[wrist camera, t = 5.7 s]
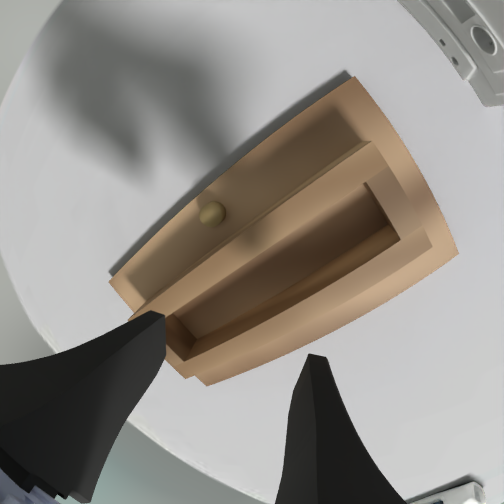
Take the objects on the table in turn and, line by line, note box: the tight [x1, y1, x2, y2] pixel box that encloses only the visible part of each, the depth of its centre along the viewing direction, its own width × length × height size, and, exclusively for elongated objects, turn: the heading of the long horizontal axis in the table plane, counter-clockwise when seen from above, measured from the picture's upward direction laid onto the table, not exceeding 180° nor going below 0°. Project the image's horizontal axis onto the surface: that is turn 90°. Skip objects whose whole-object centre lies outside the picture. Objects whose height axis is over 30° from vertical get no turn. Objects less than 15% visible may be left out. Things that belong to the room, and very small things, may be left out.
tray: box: [109, 76, 459, 386], centre depth 15 cm, size 11×20×3 cm, turn 129°
